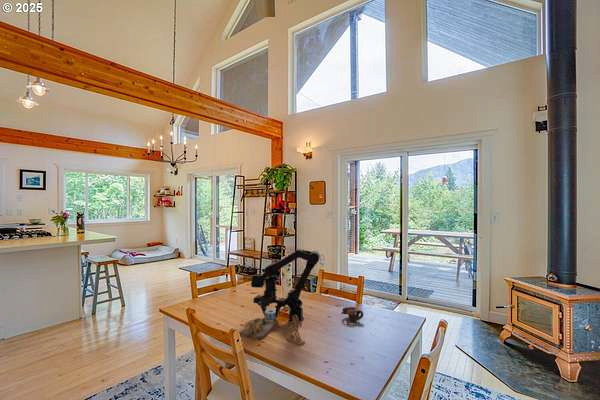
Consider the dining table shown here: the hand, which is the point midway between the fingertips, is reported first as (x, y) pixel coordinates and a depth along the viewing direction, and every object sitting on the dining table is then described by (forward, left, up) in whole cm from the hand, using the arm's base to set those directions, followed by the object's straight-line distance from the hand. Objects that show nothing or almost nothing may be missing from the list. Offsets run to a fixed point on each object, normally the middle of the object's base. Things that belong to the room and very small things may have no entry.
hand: (270, 316), depth 156 cm
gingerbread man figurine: (-22, +19, -2) cm, 29 cm away
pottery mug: (-43, -13, -2) cm, 44 cm away
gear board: (-1, +14, -1) cm, 14 cm away
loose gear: (0, 0, -1) cm, 1 cm away
